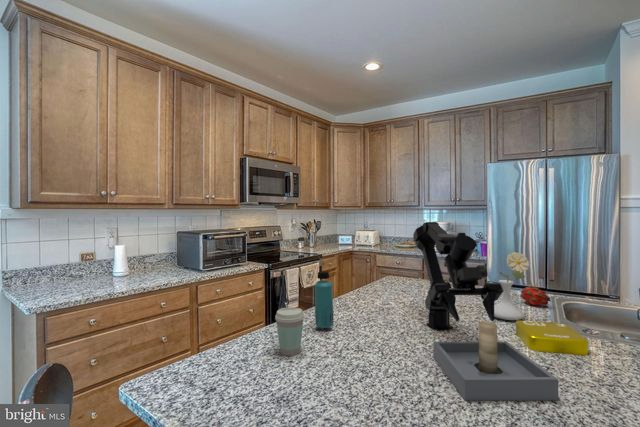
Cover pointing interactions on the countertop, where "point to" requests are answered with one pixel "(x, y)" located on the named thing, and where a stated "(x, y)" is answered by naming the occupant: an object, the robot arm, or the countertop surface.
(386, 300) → the white ring with post
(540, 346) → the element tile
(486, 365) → the birch peg
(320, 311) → the beverage bottle
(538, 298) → the dragon fruit
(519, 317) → the flower in vase
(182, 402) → the countertop surface
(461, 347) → the charcoal box
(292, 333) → the coffee cup
